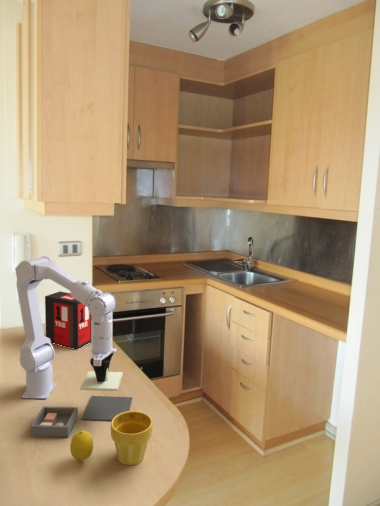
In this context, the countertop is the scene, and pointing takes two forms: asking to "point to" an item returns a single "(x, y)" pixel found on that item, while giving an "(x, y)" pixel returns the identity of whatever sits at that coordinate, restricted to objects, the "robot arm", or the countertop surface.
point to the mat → (106, 407)
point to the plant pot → (131, 435)
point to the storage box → (54, 422)
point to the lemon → (81, 445)
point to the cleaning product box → (67, 320)
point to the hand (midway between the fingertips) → (102, 378)
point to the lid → (108, 385)
